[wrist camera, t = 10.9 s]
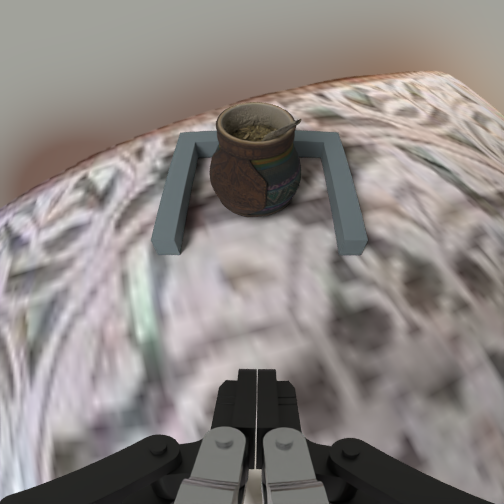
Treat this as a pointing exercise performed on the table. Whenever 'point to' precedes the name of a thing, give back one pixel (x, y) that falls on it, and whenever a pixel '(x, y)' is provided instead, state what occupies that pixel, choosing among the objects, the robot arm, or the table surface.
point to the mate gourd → (255, 159)
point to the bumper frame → (306, 145)
